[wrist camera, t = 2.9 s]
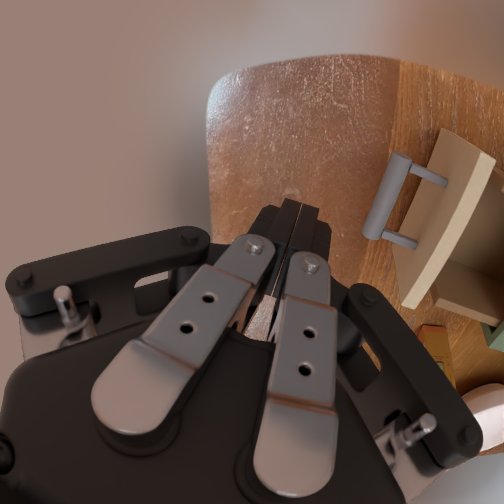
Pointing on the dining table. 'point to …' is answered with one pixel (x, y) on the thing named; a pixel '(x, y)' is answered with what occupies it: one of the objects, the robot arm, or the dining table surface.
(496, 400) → the bowl
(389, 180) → the drawer
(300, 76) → the dining table surface
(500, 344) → the cabinet
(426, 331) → the supplement box
